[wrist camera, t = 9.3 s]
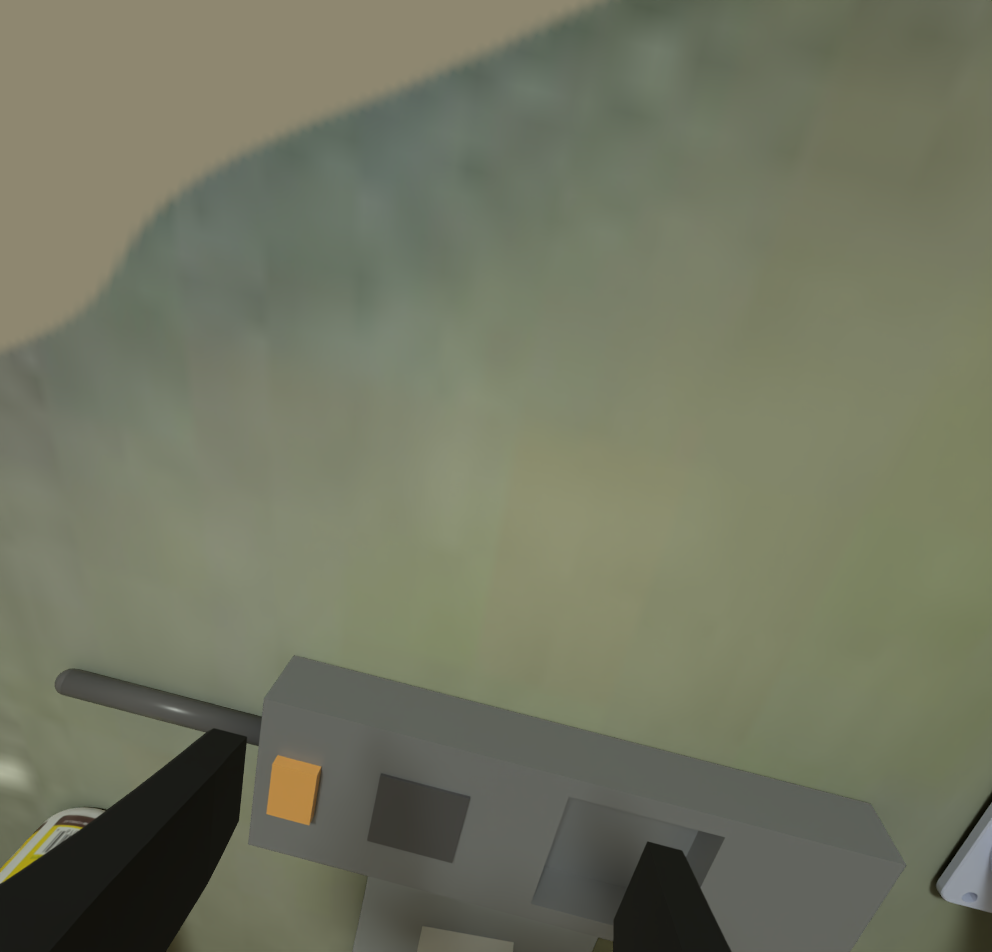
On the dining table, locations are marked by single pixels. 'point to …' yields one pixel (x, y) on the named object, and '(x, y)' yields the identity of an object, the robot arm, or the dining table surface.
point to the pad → (450, 922)
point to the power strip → (532, 809)
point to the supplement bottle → (48, 838)
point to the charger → (459, 942)
